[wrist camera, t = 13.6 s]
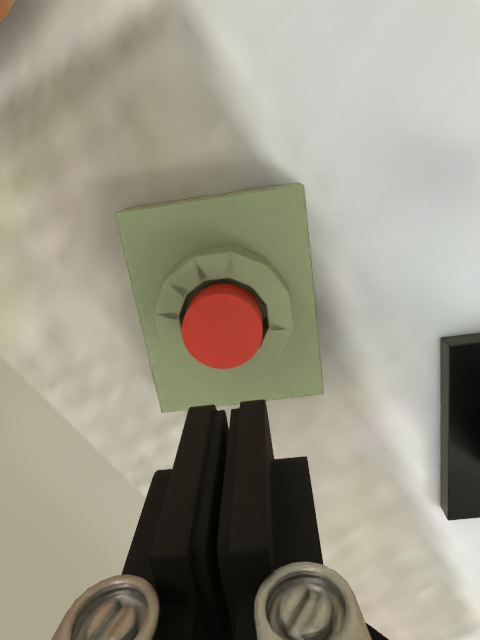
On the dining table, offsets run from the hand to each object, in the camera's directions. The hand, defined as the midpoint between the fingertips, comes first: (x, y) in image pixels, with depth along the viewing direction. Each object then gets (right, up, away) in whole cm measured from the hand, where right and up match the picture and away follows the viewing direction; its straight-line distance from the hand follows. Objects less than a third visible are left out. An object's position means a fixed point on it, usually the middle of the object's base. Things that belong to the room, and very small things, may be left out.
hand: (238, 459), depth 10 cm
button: (-1, +3, +12) cm, 12 cm away
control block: (-1, +4, +15) cm, 16 cm away
